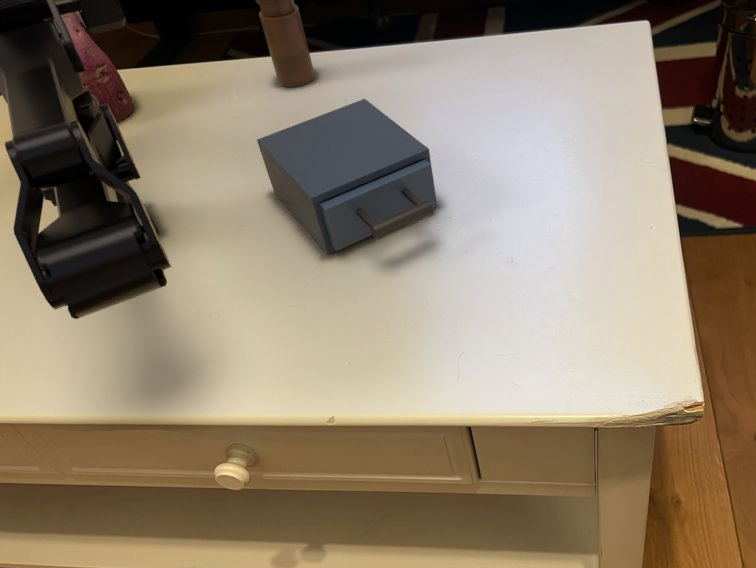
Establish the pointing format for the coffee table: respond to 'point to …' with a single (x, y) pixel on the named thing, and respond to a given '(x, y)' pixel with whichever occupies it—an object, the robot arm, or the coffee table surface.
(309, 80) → the pepper mill
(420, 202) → the drawer
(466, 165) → the coffee table surface
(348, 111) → the cabinet
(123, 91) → the vegetable
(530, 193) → the coffee table surface
